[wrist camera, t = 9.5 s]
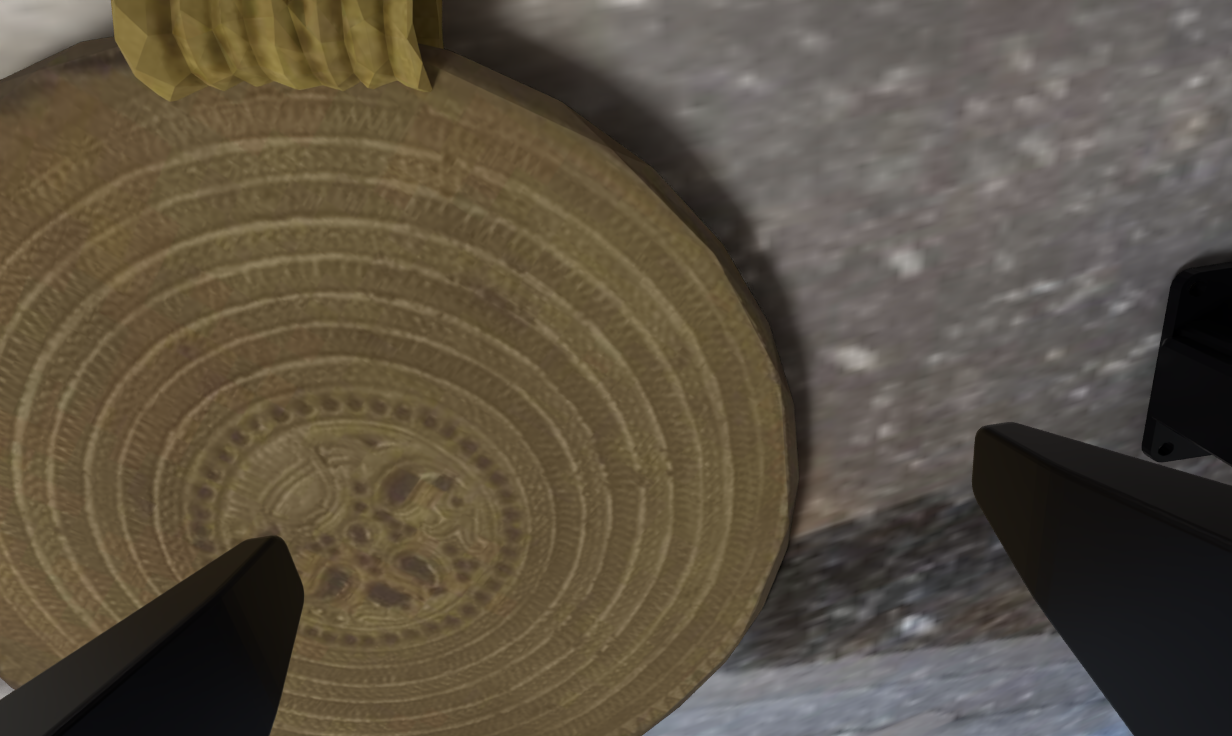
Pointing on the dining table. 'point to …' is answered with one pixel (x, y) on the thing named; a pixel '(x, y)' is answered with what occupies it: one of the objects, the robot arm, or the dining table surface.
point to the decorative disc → (376, 373)
